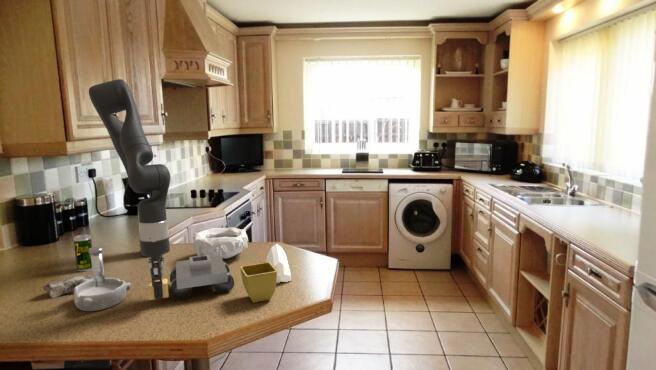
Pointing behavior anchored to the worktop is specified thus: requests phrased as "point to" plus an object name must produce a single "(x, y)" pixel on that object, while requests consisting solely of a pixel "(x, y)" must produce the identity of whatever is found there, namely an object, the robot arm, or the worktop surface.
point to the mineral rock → (65, 285)
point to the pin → (97, 266)
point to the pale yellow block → (164, 287)
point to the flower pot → (259, 281)
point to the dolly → (200, 276)
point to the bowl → (220, 242)
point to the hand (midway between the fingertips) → (159, 294)
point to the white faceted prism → (279, 263)
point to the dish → (100, 294)
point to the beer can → (83, 252)
